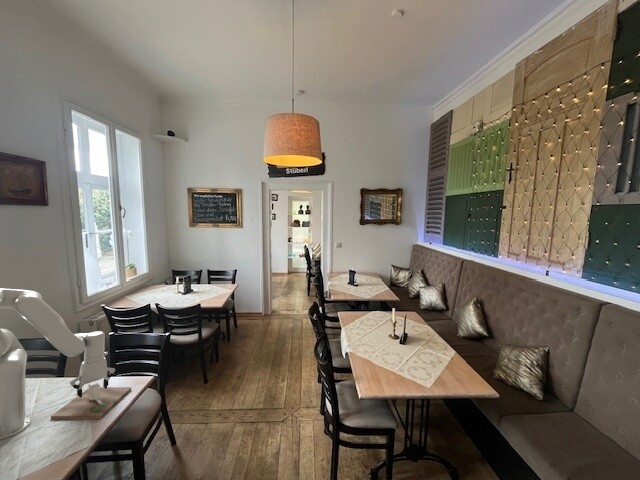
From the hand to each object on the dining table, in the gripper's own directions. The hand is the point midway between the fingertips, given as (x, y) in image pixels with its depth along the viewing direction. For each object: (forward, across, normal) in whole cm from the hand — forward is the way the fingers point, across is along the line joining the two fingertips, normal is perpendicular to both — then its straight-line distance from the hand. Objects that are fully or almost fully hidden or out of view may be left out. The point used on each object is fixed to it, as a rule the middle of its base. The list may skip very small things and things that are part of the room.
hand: (93, 391), depth 132 cm
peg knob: (+3, -1, +3) cm, 5 cm away
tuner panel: (+5, 0, +2) cm, 6 cm away
